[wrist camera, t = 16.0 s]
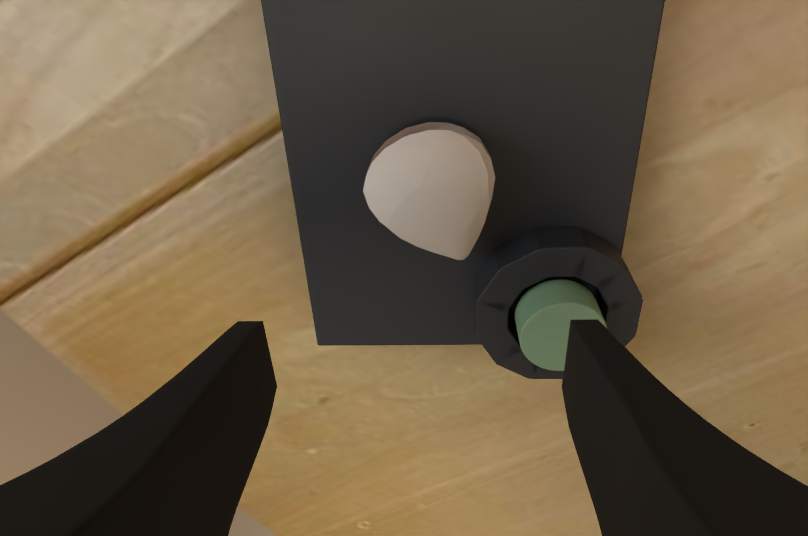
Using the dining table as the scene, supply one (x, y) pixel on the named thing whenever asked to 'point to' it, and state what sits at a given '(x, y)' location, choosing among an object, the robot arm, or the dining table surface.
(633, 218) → the dining table surface
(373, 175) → the beige rounded teardrop
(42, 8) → the dining table surface
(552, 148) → the scale
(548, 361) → the button
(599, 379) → the robot arm
